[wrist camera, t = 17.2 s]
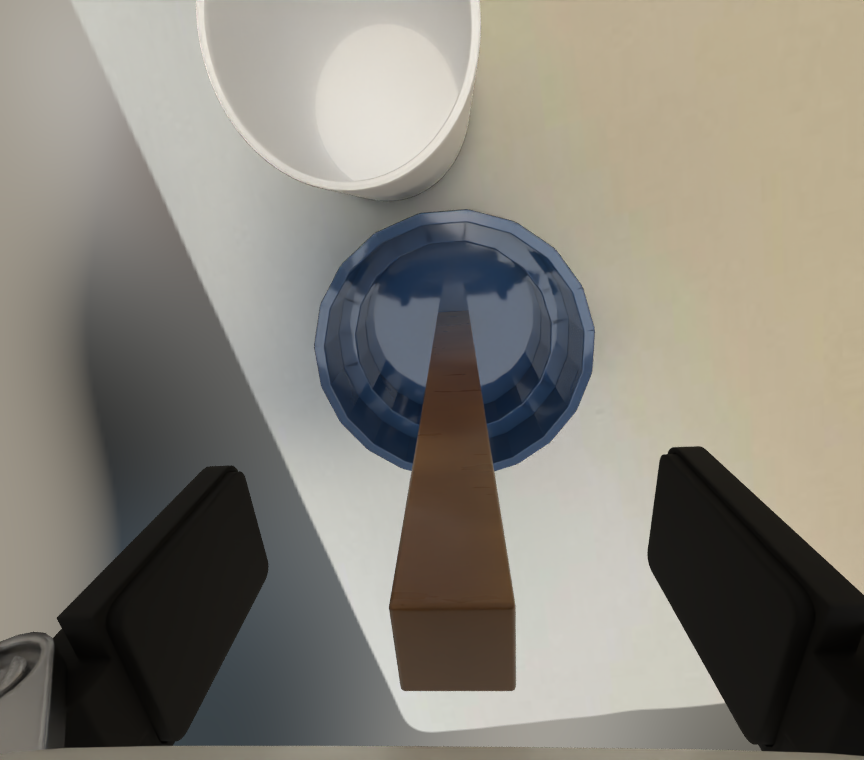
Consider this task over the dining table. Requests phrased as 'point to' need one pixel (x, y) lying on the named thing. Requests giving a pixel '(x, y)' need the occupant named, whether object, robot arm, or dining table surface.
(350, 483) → the dining table surface
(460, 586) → the stick
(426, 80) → the cup
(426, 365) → the bowl
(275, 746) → the robot arm
